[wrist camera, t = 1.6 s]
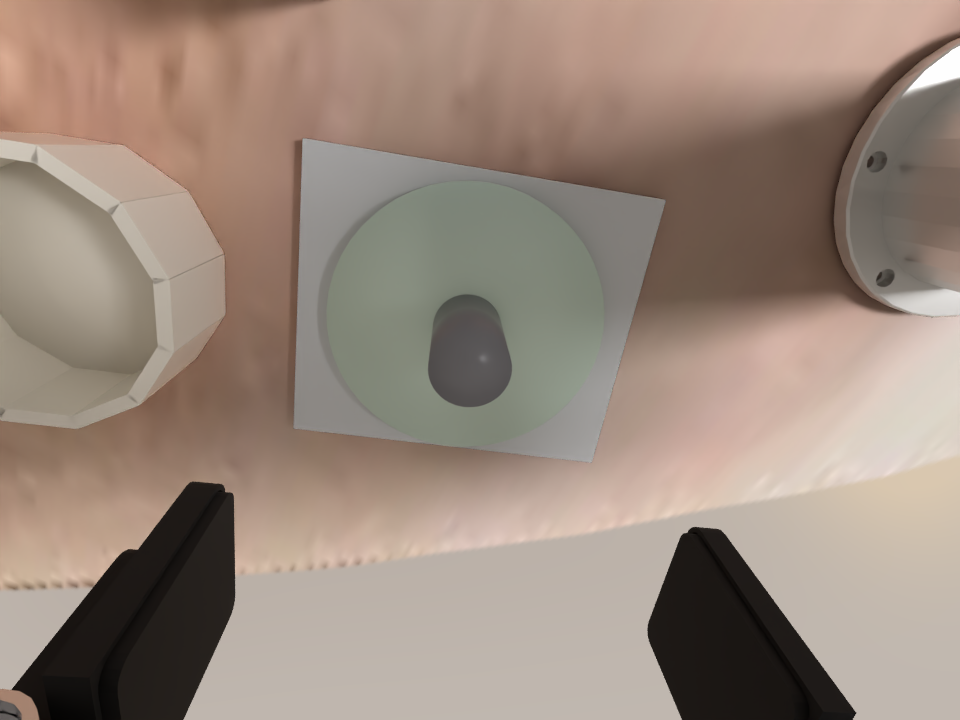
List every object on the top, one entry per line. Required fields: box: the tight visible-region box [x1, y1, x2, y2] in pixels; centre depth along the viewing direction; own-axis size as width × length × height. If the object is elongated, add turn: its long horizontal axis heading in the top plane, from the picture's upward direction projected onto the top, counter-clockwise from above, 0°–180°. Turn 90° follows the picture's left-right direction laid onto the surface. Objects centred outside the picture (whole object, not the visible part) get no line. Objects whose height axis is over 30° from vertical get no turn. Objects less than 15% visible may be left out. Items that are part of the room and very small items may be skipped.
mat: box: [293, 138, 666, 463], centre depth 25 cm, size 16×14×1 cm
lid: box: [326, 180, 605, 447], centre depth 22 cm, size 13×13×6 cm
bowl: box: [0, 132, 226, 429], centre depth 22 cm, size 11×11×5 cm
